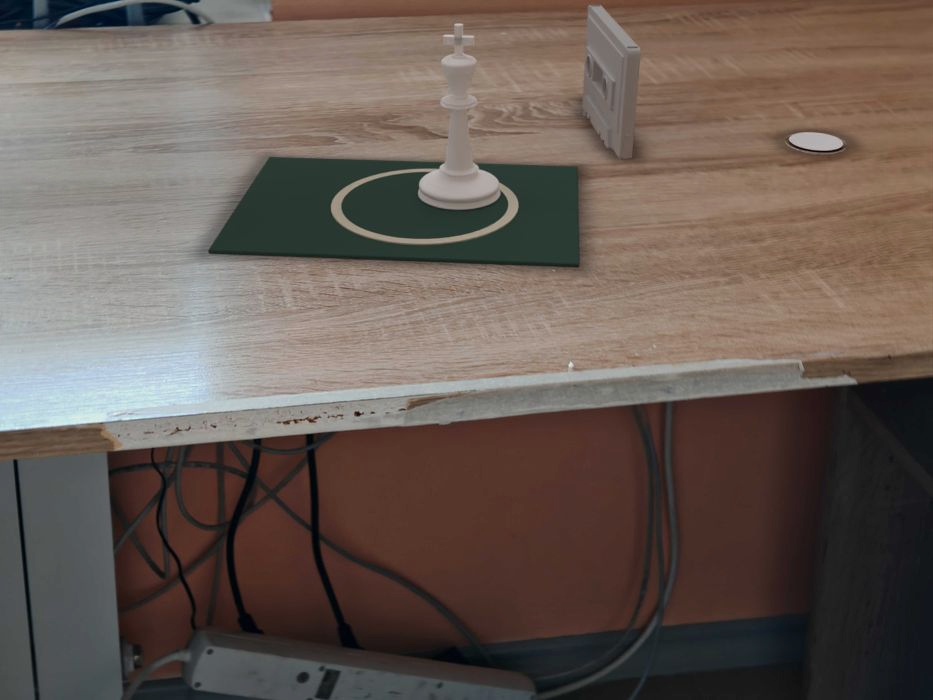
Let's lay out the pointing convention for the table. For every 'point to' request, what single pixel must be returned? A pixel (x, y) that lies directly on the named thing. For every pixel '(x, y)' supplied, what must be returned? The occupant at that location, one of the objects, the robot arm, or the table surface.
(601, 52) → the cassette
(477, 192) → the chess piece
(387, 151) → the table surface
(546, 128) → the table surface
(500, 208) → the desk mat
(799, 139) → the white rimmed disc
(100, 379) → the table surface
